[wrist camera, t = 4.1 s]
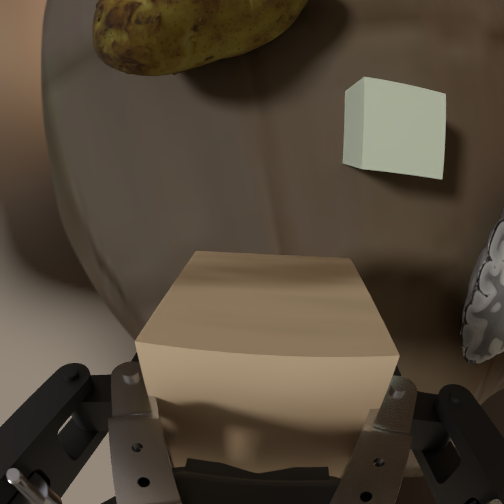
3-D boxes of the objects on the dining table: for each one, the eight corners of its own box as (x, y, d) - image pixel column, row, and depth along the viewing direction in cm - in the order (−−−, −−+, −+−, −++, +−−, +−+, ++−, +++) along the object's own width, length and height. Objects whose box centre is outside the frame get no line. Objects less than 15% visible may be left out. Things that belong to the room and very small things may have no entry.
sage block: (344, 91, 18) (363, 76, 14) (412, 102, 18) (445, 94, 13) (342, 163, 20) (361, 169, 15) (409, 170, 20) (442, 179, 15)
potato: (321, 72, 18) (346, 33, 10) (136, 97, 19) (71, 81, 12) (305, -25, 15) (315, -89, 8) (132, 3, 17) (79, -39, 9)
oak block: (195, 250, 12) (134, 341, 7) (350, 258, 12) (399, 355, 6) (204, 368, 14) (172, 471, 9) (329, 375, 14) (344, 481, 8)
